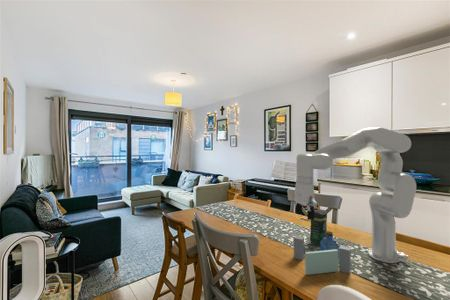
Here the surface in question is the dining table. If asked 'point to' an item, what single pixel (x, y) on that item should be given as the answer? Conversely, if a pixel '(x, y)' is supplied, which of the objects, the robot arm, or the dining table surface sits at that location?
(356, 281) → the dining table surface
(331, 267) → the door
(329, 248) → the perfume bottle
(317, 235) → the coffee jar
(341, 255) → the door frame
